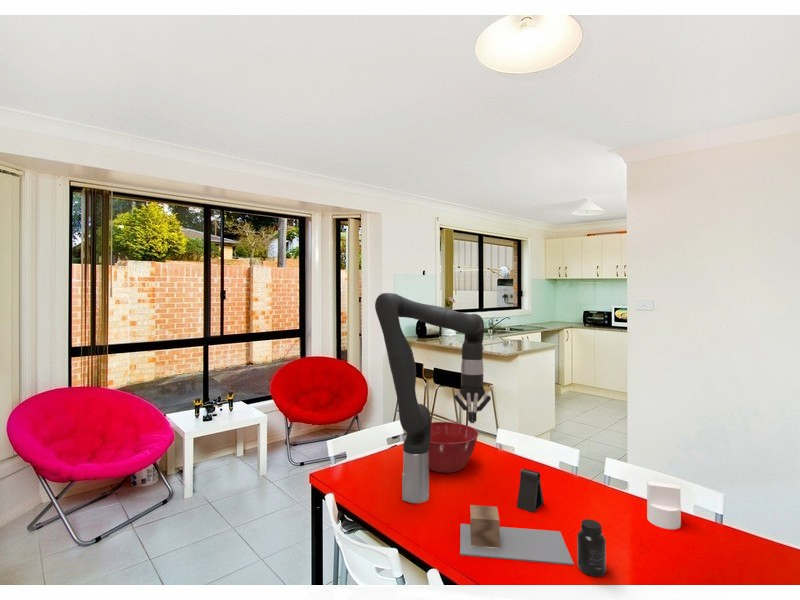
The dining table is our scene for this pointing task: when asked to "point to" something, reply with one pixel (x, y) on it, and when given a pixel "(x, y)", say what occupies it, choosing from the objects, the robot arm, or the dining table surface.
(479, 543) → the walnut block
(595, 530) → the supplement bottle
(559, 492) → the dining table surface
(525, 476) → the black coffee bag
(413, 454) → the robot arm
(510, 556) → the rubber mat
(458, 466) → the mixing bowl
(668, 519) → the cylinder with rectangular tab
